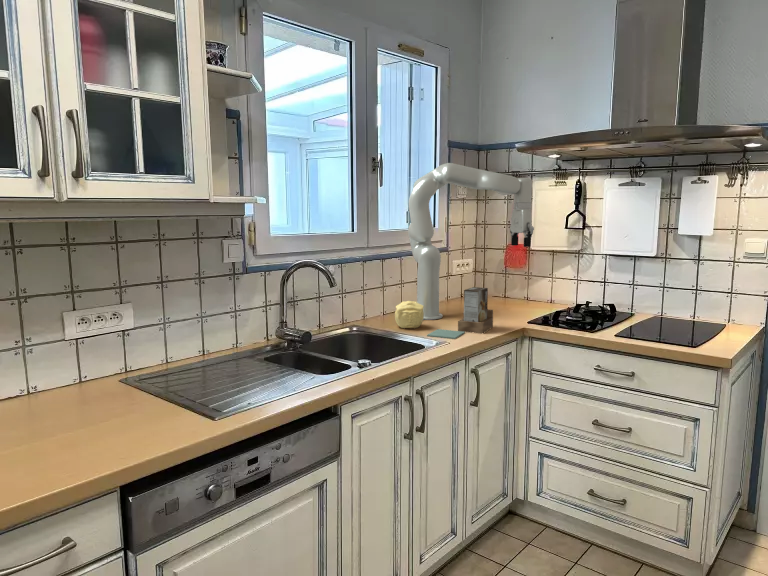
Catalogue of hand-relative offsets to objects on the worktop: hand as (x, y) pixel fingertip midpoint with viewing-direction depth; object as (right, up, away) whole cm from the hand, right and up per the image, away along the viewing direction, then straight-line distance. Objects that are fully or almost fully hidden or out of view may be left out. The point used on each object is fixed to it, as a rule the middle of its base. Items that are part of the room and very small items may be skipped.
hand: (520, 246), depth 247 cm
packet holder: (-24, -35, -26) cm, 50 cm away
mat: (-37, -36, -36) cm, 63 cm away
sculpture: (-50, -34, -22) cm, 65 cm away
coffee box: (-24, -35, -26) cm, 50 cm away
